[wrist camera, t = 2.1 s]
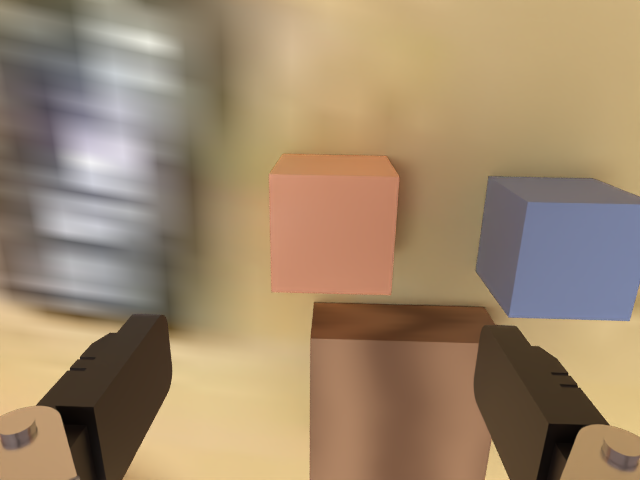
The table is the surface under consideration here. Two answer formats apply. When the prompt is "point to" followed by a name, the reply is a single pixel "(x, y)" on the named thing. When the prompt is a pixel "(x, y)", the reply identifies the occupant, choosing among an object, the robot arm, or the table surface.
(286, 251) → the terracotta block
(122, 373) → the robot arm
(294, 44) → the table surface
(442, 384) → the plinth
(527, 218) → the blue block
